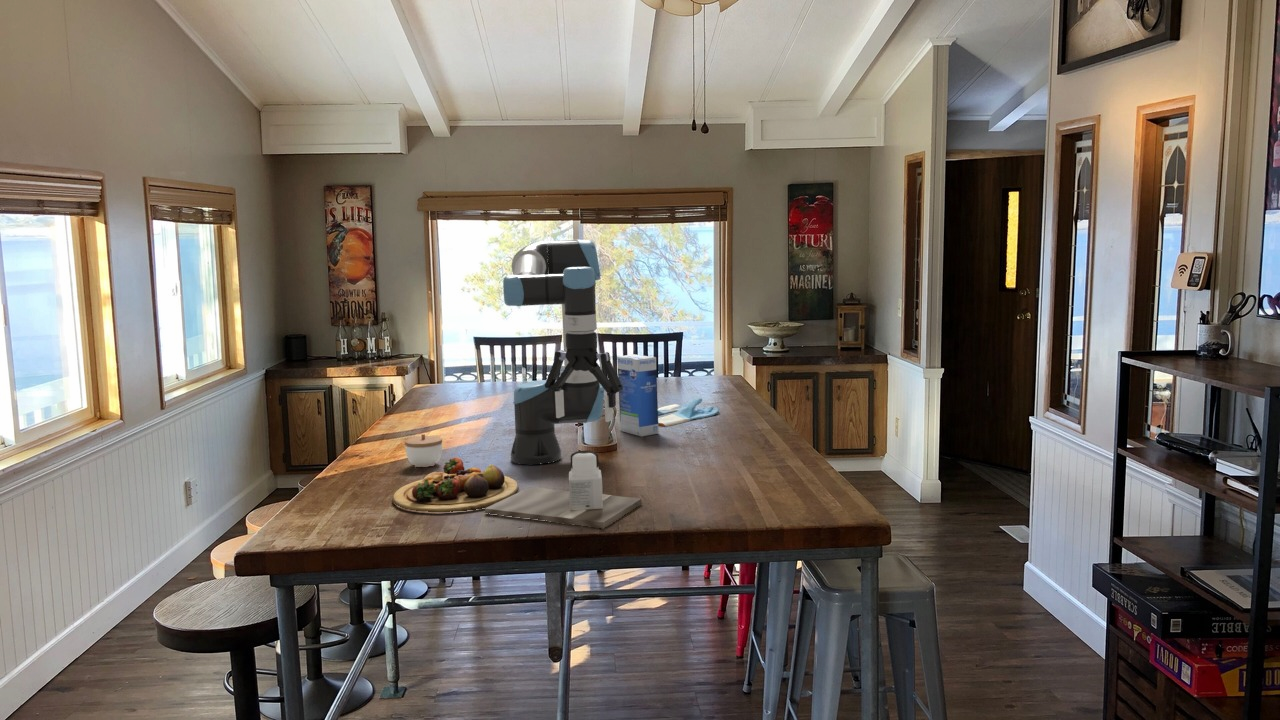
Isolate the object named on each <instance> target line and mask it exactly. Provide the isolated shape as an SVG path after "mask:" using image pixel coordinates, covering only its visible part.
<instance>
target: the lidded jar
mask: <svg viewBox="0 0 1280 720" xmlns="http://www.w3.org/2000/svg"><path fill="white" fill-rule="evenodd" d="M404 445H405V453H406V457H407V460H408V461H409V462H410V464H412V465H417V466H426V465H432V464H435V463H436V464H437V463H438V462H439V461H440V459H441V457H442V453H443V452H442V451H443V438H442V437H440V436H436V435H428V436H427V435H426V434H425V433H423V434H422V433H421V436H416V437H410V438H408V439H406V440H405V441H404Z"/></svg>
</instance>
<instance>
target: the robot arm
mask: <svg viewBox="0 0 1280 720" xmlns="http://www.w3.org/2000/svg"><path fill="white" fill-rule="evenodd" d="M511 272H512V274H513V275H506V276H504V278H503V280H502V281H503V282H502V283H503V284H502V285H503V286H502V287H503V300H504V301H503V302H504V304H505V305H506V306H508V307H524V306H542V305H543V306H546V305H547V306H549V305H561V313H562V314H561V315H562V319H561V320H562V335H563V336H562V338H563V339H562V341H563V350H557V351H555V353H554V360H553V363H552V366H551V369H550V371H549V373H548V376H547V378H546V379H538V380H533V381H529V382H526V383H522V384H520V385H517V386H516V387H515V388H514V390H513V405H514V407H513V408H514V428H515V434H514V435H515V436H514V440H513V443H512V447H511V450H510V461H511V462H512V461H513V462H515V463H514V464H516V463H520V464H519V465H522V464H540V463H548V462H552V463H554V462H553V461H556V462H558V461H560V460H562V457H563V456H562V454H563V453H562V449H561V447H560V443H559V440H558V438H557V435H556V431H555V425H558V424H580V423H584V424H587V423H593V422H598V421H599V420H600V419H601V418H602V415H603V408H604V418H605V419H604V420H605V421H604V422H606V423H610V422H611V421H613V420H614V408H615V407H616V406H617V399H616V397H617V396H616V394H617V393H619V391H622V390H623V387H622V385H621V382H620V380H619V378H618V373H617V372H616V369H615V367H614V366H613V363H612V362H611V356H610V352H609V351H605V352H603V353H598V350H597V349H598V333H597V332H596V330H597V329H598V328H597V327H598V325H597V308H596V307H597V306H596V305H597V304H596V301H597V300H596V299H597V298H596V287H597V285H596V281H599V280H601V270H600V264H599V258H598V253H597V248H596V244H595V242H593V241H592V240H589V239H588V240H587V239H566V240H565V239H564V240H542V241H541V240H540V241H536V242H534V243H533V242H532V243H530V244H528V245H525V246H524V247H522V248H521V249H519V250H518V251H517V252H516V253H515V255H514V256H513V258H512V260H511ZM597 361H599V362H600V363H601V365H602V368H603V370H604V372H605V373H604V372H603V370H602V369H601V366H600V364H598V362H597ZM563 364H564V369H563V371H562V372H561V373H560V371H561V368H562V367H563ZM559 374H560V375H559ZM559 459H560V460H559ZM557 460H558V461H557ZM513 462H512V463H513ZM548 464H549V463H548ZM540 465H541V464H540Z"/></svg>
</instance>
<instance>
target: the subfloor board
mask: <svg viewBox="0 0 1280 720" xmlns="http://www.w3.org/2000/svg"><path fill="white" fill-rule="evenodd" d="M602 495H603V508H602V509H591V510H570V497H569V490H560V489H550V488H542V487H535V486H534V487H532V486H529V487H527V488H525V489H523V490H521V491H518V493H516V494H514V495H512V496H510V497H508V498H506V499H504V500H502V501H499V502H497V503H495V504H493V505H491V506H489V507H487V508H485V509H484V514H485V513H488V514H489V513H490V514H497V515H504V516H512V517H520V518H530V519H538V520H545V521H546V520H547V521H551V522H558V523H564V524H563V525H567V524H574V525H573V526H575V525H583V526H590V527H589V528H591V527H595V528H594V529H599V528H601V529H600V530H604V529H606V528H608V527H609V526H611V525H612V524H614V523H615V522H617V521H619V520H620V519H621V518H623V517H624V515H625V514H626V515H628V514H629V513H630V511H631V510H632V511H634V510H635V508H636V507H637V508H639V507H640V506H642V505H643V504H642V498H639V497H638V498H637V497H628V496H620V495H612V494H604V493H602ZM641 504H642V505H641ZM638 506H639V507H638ZM637 508H636V509H637ZM633 509H634V510H633ZM632 511H631V512H632ZM628 512H629V513H628ZM627 513H628V514H627ZM626 515H625V516H626ZM622 516H623V517H622ZM619 518H620V519H619ZM616 520H617V521H616ZM613 522H614V523H613ZM558 523H557V524H558ZM583 526H582V527H583ZM605 527H606V528H605Z"/></svg>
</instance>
